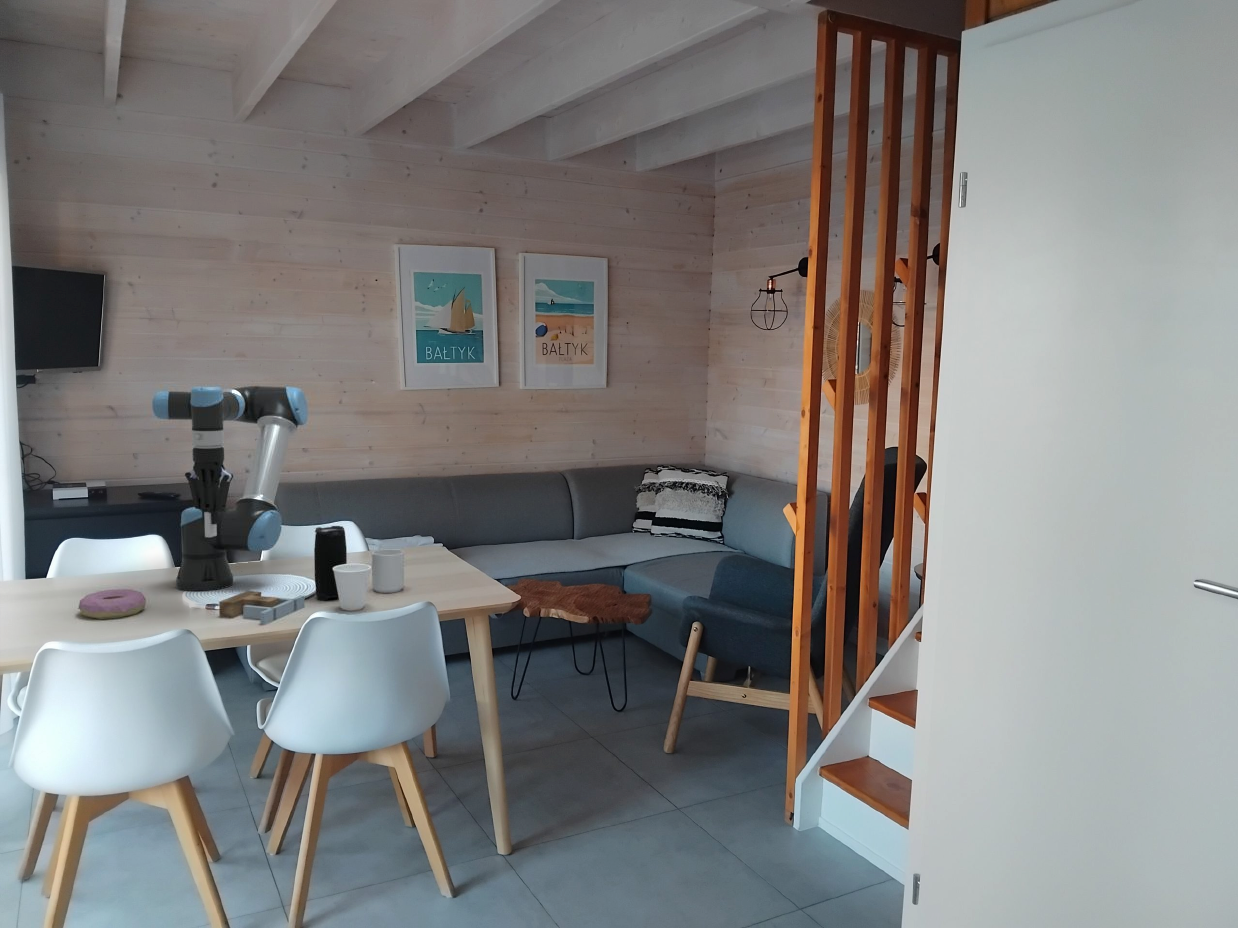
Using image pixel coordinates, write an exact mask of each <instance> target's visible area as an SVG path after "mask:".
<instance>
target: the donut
mask: <svg viewBox="0 0 1238 928" xmlns="http://www.w3.org/2000/svg"><path fill="white" fill-rule="evenodd" d="M146 602H147V599H146V597H145V595H144V594H143V593H142V592H141V591H138V590H135V589H124V588H123V589H122V588H121V589H119V588H118V589H107V590H100V591H99V590H98V591H96V592H93V593H89V594H86V595H85V596H84V597H83V598H81V599H80V600H79V603H78V607H77V609H78V610H79V611H80V613H81V614H82V615H83V616H84V617H86V618H91V619H99V620H108V619H109V620H110V619H119V618H124V617H129V616H134V615H137V614H138V613H139V612H140V611H142V610H143V609H144V608H146Z"/></svg>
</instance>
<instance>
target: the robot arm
mask: <svg viewBox="0 0 1238 928" xmlns="http://www.w3.org/2000/svg"><path fill="white" fill-rule="evenodd" d="M304 393H305V392H303V390H302V389H301V388H299V387H293V386H288V385H287V386H260V385H250V386H248V385H247V386H242V387H236V388H235V387H234V388H224V389H222V388H221V387H220V386H194V387H192V388H191V391H170V390H166V391H165V390H164V391H163V390H162V391H161V390H160V391H158V392H156V393H155V394H154V396H153V397H152V403H151V404H152V413H153V414H154V416H155V417H156V418H158V419H160V420H178V421H179V420H183V421H184V420H185V421H187V420H188V421H189V420H191V438H192V441H191V442H192V445H193V447H192V449H191V450H192V461H193V462H194V463H193V466H192V469H191V470H190V471H188V472H185V473H184V476H185V479H186V480H187V481H188V484H189V489H190V493H191V497H192V501H193V505H194V506H193V507H188V508H185V509H184V510H183V511H182V512H181V516H180V517H181V520H180V531H181V533H180V534H181V536H180V537H181V554H182V555H181V557H182V558H181V564H180V567H179V568H178V573H177V576H176V579H175V580H176V581H175V583H176V586H175V587H176V588H177V589H179V590H183V591H189V590H203V591H213V589H214V590H219V589H218V588H220V589H224V588H227V587H226V586H228V587H229V585H230V586H232V585H233V584H234V575H233V573H232V570H231V567H230V563H229V561H228V558H227V551H242V552H243V551H245V552H247V551H248V552H255V553H256V552H263V551H264V552H265V551H270V550H271V549H272V548H274V546H275V545H276V544H277V542H278V541H279V538H280V536H281V533H282V523H283V521H282V519H283V518H282V516H281V513H280V512H279V511H278V507H277V505H276V504H275V499H276V497H277V491H278V487H279V483H280V479H281V475H282V470H283V466H284V463H285V457H286V454H287V449H288V446H289V443H290V442H289V441H290V439H291V438H290V437H291V436H294V435H296V433H297V430H298V426H299V427H301V426H304V425H306V423H307V421H308V414H309V412H308V403H307V398H306V396H305V394H304ZM226 421H230V422H231V421H233V422H238V423H239V422H240V423H246V424H253V425H254V424H257V427H258V428H259V429H260V431H259V435H258V439H257V442H256V447H255V450H254V455H253V458H252V461H251V466H250V470H249V473H248V477H247V482H246V485H245V489H244V492H243V496H242V497H241V498H239V499H237V500H236V502H235V505H234V508H233V509H226V508H227V507H226V506H227V501H228V495H229V490H230V486H231V481H232V480H233V478H234V474H233V473H229V472H228V471H226V468H225V466H224V462H225V448H224V447H223V446H224V445H225V435H224V434H225V433H224V422H226ZM223 587H224V588H223Z"/></svg>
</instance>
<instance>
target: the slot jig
mask: <svg viewBox="0 0 1238 928" xmlns="http://www.w3.org/2000/svg"><path fill="white" fill-rule="evenodd" d="M274 597H275V596H274ZM275 598H279V605H277V606H274V607H272V608H271V607H261V606H250V605H245V606H243V614H242V615H243V619H244V618H245V619H252V620H254V619H255V620H259V623H260V624H259V625H261V626H262V625H265V626H266V625H267V624H269V623H271V622H274V621H276V620H278V619H280V618H283V617H284V616H287V615H289V614H292V613H294V612H296V611H299V610H301V609H302V608H304V607H305V606H306V603H305V599H306V598H305V595H298V596H295V597H294V598H287V597H286V598H284V597H278V596H277V597H275Z"/></svg>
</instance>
